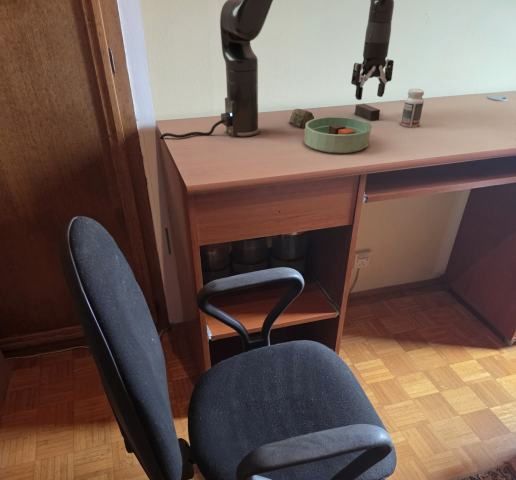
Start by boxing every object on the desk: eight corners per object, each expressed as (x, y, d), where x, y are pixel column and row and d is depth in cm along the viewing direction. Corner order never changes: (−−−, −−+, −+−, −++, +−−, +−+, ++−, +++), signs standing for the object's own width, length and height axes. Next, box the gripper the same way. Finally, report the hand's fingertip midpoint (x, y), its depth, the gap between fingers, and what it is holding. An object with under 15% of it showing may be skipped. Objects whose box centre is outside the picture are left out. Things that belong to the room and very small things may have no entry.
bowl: (325, 158, 122) (327, 139, 119) (293, 139, 135) (293, 121, 131) (381, 148, 128) (384, 129, 125) (345, 131, 141) (347, 113, 137)
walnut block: (334, 141, 131) (335, 128, 129) (327, 137, 134) (329, 125, 131) (344, 139, 132) (345, 126, 130) (337, 136, 135) (339, 123, 133)
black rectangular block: (378, 119, 150) (380, 109, 148) (370, 120, 149) (371, 111, 147) (362, 113, 157) (364, 103, 155) (354, 114, 155) (355, 104, 154)
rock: (283, 125, 146) (284, 109, 143) (296, 119, 151) (297, 104, 148) (302, 128, 143) (303, 113, 140) (314, 123, 147) (316, 108, 144)
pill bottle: (417, 122, 148) (424, 88, 141) (420, 127, 143) (427, 92, 137) (399, 122, 148) (405, 88, 141) (401, 127, 144) (408, 92, 137)
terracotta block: (343, 146, 128) (345, 133, 126) (337, 142, 130) (338, 129, 128) (353, 144, 129) (355, 131, 127) (347, 140, 131) (348, 128, 129)
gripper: (388, 36, 143) (379, 93, 154) (351, 39, 139) (344, 98, 150) (403, 39, 138) (393, 97, 149) (365, 42, 134) (357, 103, 145)
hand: (369, 97), depth 149 cm, fingers open, 8 cm apart
